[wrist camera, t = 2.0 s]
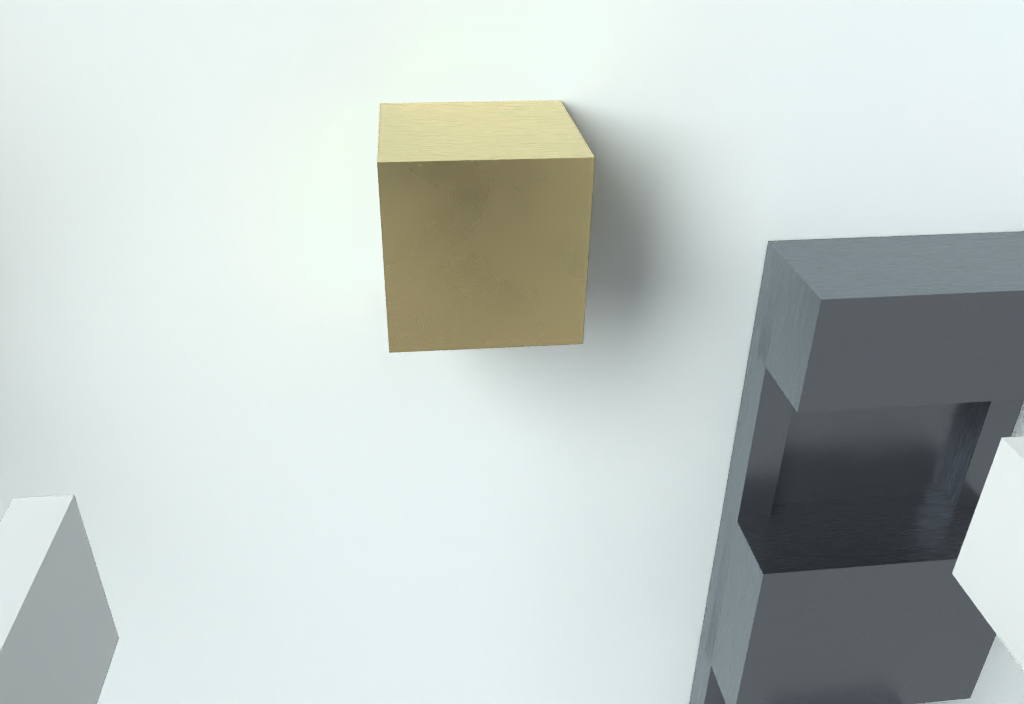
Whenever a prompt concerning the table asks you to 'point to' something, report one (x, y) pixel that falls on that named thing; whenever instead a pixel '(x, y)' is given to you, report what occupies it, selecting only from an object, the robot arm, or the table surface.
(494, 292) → the sand colored cube
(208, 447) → the table surface
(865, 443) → the grey stepped block holder
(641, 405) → the table surface
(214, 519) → the table surface
